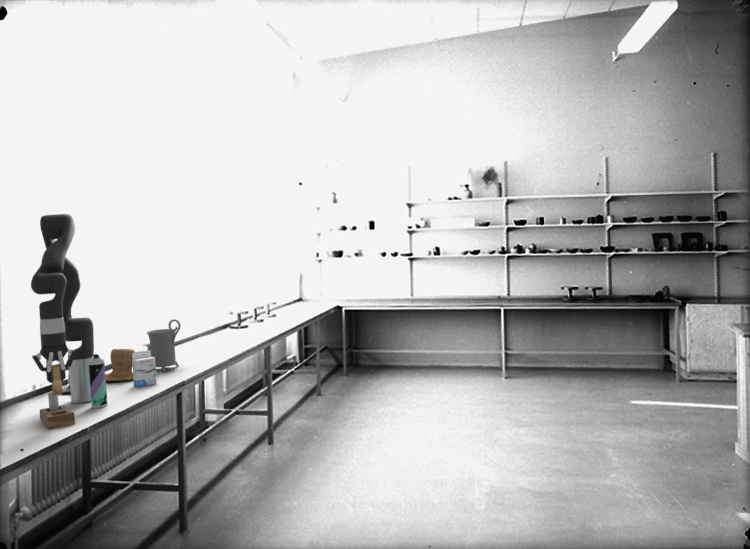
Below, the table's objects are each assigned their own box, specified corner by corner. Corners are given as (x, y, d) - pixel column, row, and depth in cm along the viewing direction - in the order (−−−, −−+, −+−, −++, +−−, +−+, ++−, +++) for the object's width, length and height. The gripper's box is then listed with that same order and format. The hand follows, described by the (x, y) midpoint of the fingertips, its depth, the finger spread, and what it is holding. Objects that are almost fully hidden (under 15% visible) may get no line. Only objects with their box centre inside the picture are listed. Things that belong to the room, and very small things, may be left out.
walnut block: (40, 420, 210) (39, 409, 210) (65, 415, 215) (64, 404, 215) (48, 429, 198) (48, 417, 198) (75, 423, 203) (74, 412, 203)
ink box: (137, 387, 256) (135, 353, 256) (133, 385, 260) (131, 352, 259) (157, 383, 262) (154, 350, 262) (152, 382, 266) (150, 349, 265)
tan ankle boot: (141, 376, 280) (139, 345, 279) (132, 382, 268) (129, 349, 267) (108, 378, 279) (106, 347, 278) (98, 384, 267) (95, 351, 267)
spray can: (88, 407, 225) (84, 355, 224) (99, 403, 230) (96, 352, 229) (99, 408, 223) (95, 355, 222) (110, 404, 228) (107, 353, 227)
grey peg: (49, 420, 210) (47, 392, 209) (58, 418, 212) (56, 390, 211) (51, 421, 207) (48, 393, 207) (60, 420, 209) (58, 392, 209)
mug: (140, 372, 289) (136, 322, 288) (156, 366, 304) (153, 318, 303) (175, 372, 286) (172, 321, 285) (190, 366, 300) (187, 317, 299)
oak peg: (51, 394, 203) (49, 365, 203) (61, 392, 205) (59, 363, 204) (53, 395, 201) (51, 366, 200) (63, 393, 203) (61, 364, 202)
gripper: (72, 328, 209) (76, 376, 210) (27, 333, 200) (31, 383, 201) (77, 329, 203) (81, 379, 204) (31, 335, 195) (35, 387, 195)
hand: (56, 381), depth 203 cm, fingers closed on oak peg, 3 cm apart
